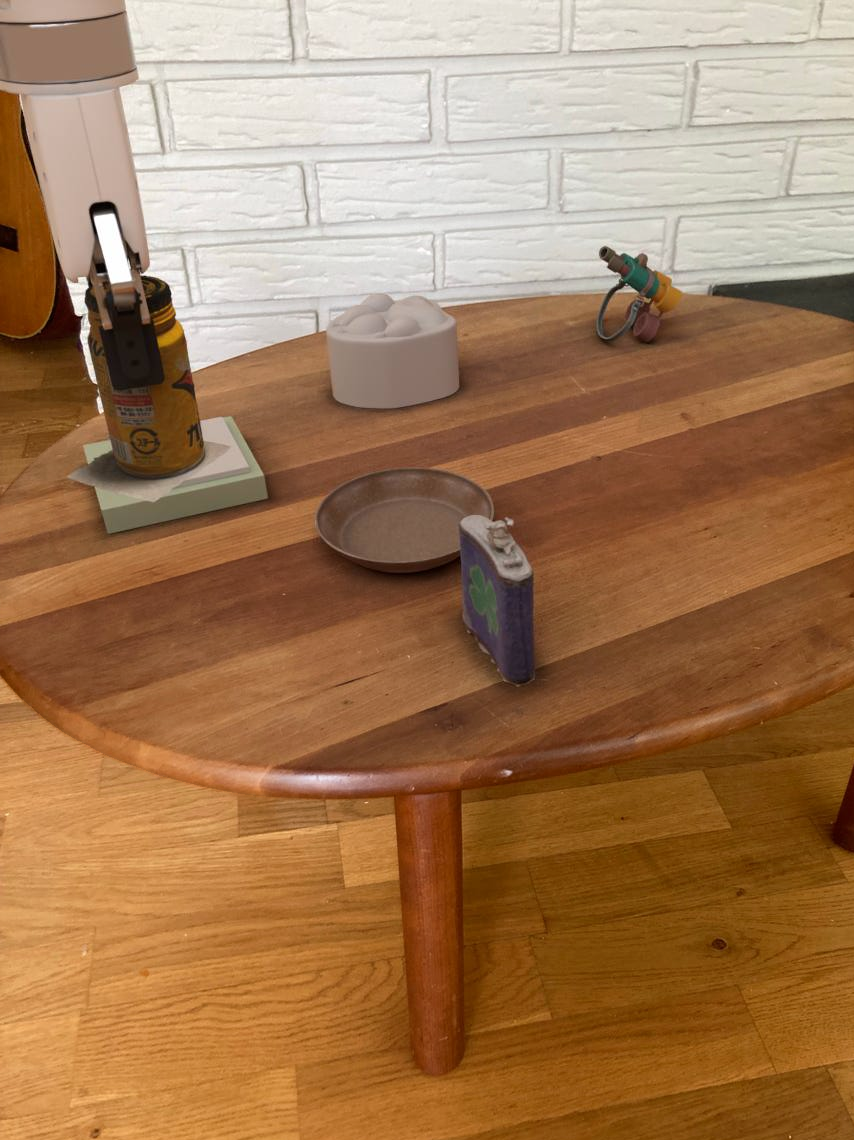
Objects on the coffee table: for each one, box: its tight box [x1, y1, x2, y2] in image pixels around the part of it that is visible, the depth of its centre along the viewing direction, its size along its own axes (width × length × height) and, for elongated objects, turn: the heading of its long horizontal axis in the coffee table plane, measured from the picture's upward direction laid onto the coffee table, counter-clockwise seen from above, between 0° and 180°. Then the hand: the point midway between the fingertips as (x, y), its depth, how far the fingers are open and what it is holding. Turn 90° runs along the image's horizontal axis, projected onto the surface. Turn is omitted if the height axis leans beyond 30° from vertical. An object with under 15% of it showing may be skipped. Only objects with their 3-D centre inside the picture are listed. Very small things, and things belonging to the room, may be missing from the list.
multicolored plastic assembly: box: [596, 245, 683, 343], centre depth 121 cm, size 9×9×10 cm
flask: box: [459, 515, 536, 688], centre depth 75 cm, size 9×3×11 cm, turn 24°
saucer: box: [314, 466, 495, 574], centre depth 90 cm, size 15×15×3 cm
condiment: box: [66, 274, 232, 502], centre depth 70 cm, size 7×8×12 cm
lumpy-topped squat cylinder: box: [325, 292, 460, 409], centre depth 112 cm, size 10×13×9 cm
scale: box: [82, 415, 269, 535], centre depth 98 cm, size 14×13×3 cm
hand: (130, 362), depth 70 cm, fingers closed on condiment, 6 cm apart
